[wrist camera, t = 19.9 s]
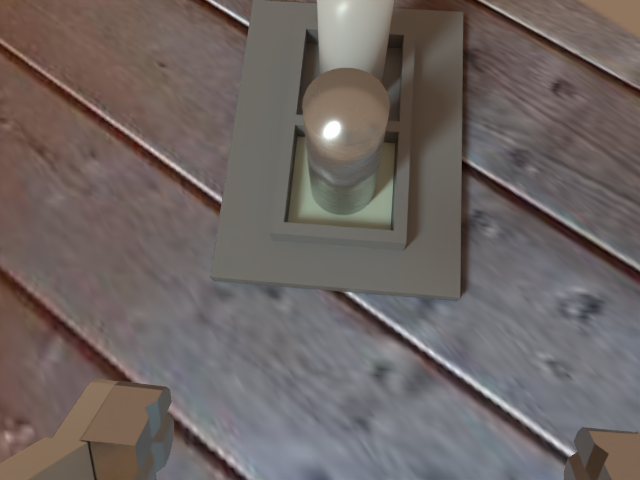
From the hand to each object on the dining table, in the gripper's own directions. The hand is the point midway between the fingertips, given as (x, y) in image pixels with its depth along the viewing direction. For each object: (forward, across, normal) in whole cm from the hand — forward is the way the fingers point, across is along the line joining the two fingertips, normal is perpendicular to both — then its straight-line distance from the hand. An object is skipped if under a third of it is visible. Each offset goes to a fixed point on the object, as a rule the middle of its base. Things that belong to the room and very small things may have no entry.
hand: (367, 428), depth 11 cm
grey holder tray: (+30, -2, -3) cm, 31 cm away
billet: (+27, -2, -5) cm, 27 cm away
